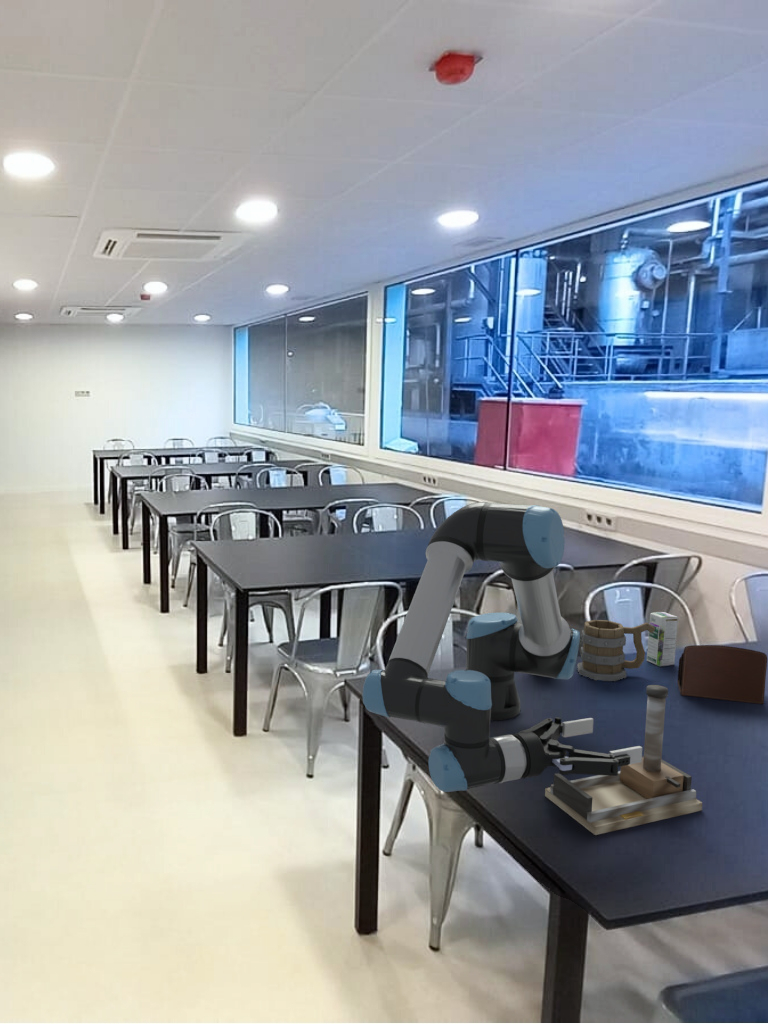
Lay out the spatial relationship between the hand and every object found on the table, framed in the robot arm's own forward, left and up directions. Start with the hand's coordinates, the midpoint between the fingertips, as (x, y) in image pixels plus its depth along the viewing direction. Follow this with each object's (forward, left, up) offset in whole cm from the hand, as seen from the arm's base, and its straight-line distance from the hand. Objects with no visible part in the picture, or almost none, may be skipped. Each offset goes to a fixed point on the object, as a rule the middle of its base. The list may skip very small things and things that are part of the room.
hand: (615, 738), depth 147 cm
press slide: (+8, +4, -11) cm, 14 cm away
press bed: (+2, +1, -13) cm, 13 cm away
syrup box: (+28, +90, -13) cm, 95 cm away
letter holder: (+38, +66, -13) cm, 77 cm away
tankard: (+13, +77, -13) cm, 79 cm away
